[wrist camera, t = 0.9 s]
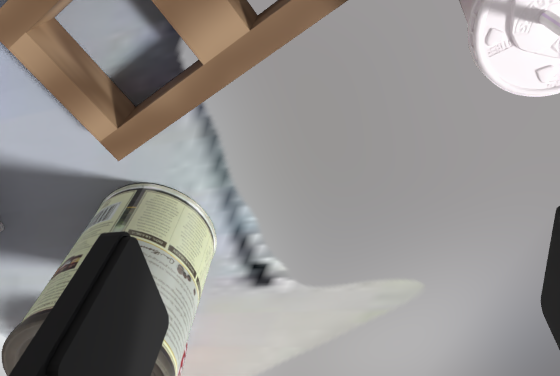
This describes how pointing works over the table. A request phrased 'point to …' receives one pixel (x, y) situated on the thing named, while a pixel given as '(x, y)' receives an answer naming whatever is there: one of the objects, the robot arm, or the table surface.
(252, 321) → the table surface
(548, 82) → the smoothie
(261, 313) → the table surface
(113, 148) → the wooden divided tray
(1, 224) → the dog figurine
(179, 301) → the coffee can
